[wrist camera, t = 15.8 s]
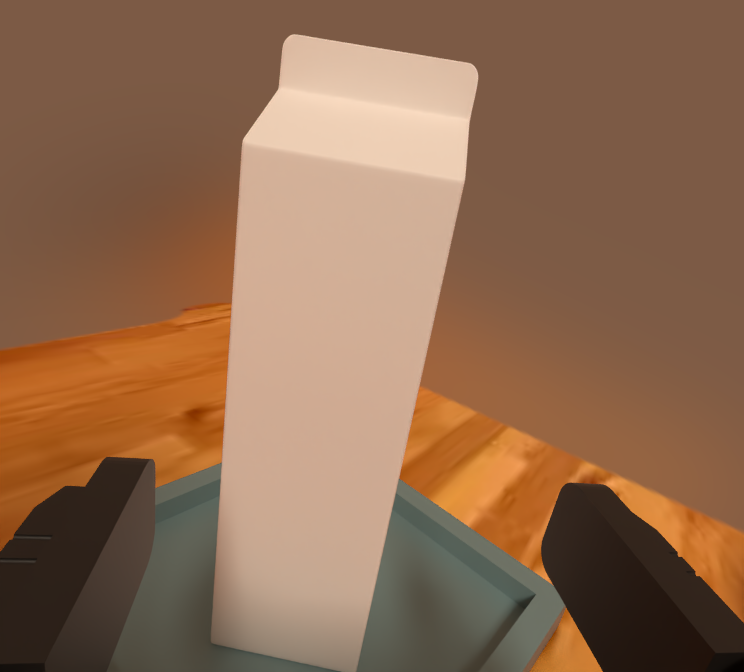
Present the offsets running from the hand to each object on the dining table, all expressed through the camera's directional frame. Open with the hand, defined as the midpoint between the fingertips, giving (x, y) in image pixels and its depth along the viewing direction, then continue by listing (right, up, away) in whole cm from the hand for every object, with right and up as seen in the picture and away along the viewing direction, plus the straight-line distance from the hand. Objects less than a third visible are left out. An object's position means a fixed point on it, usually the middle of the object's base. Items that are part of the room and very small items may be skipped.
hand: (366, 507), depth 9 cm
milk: (-3, -9, +12) cm, 15 cm away
